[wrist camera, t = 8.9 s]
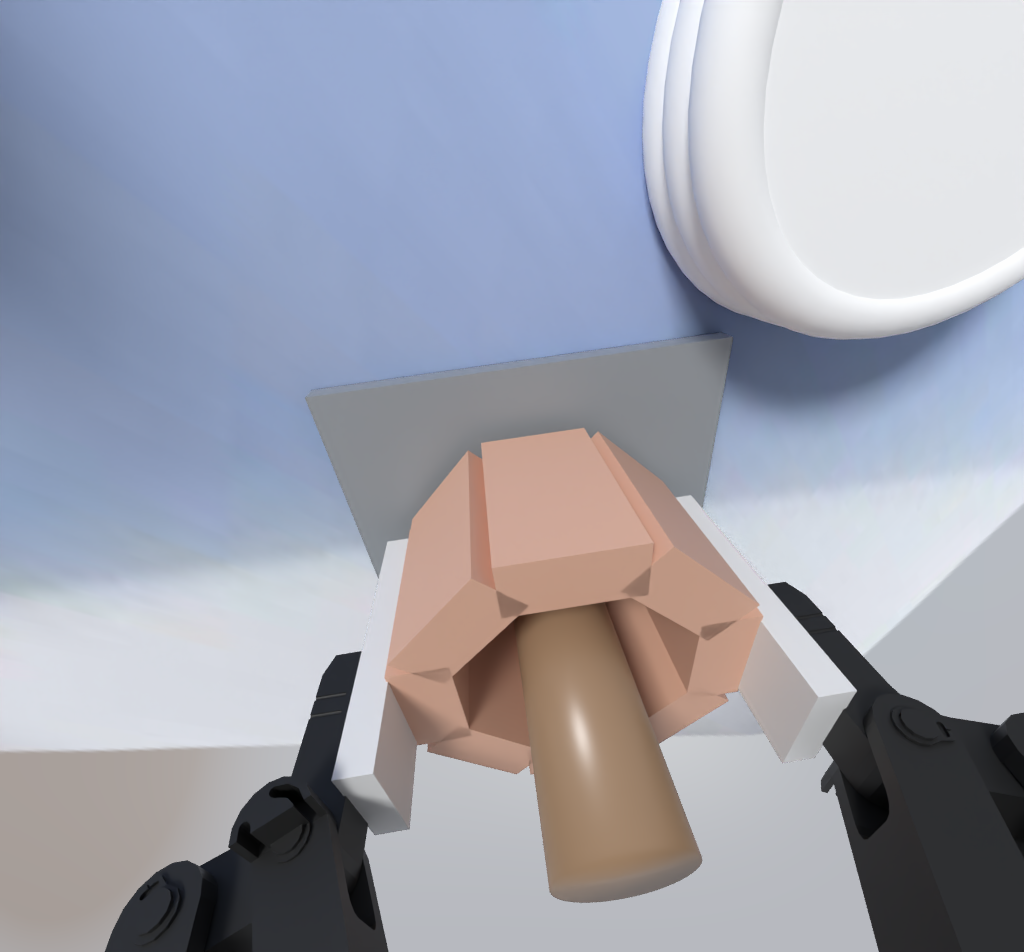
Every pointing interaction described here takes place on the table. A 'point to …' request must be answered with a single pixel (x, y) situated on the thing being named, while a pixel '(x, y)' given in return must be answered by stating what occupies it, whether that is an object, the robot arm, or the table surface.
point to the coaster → (839, 157)
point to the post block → (564, 632)
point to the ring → (557, 592)
